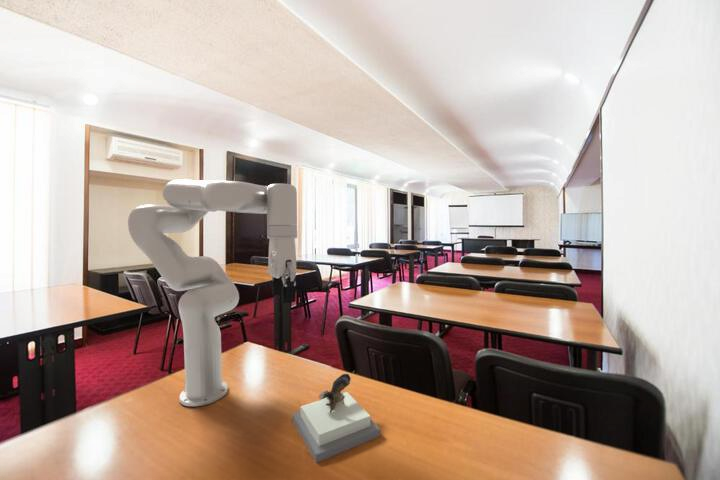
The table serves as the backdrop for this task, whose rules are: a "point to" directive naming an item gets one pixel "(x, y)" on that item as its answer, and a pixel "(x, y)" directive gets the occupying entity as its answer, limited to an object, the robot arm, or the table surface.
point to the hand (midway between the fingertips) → (283, 298)
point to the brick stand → (334, 427)
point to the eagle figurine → (336, 391)
